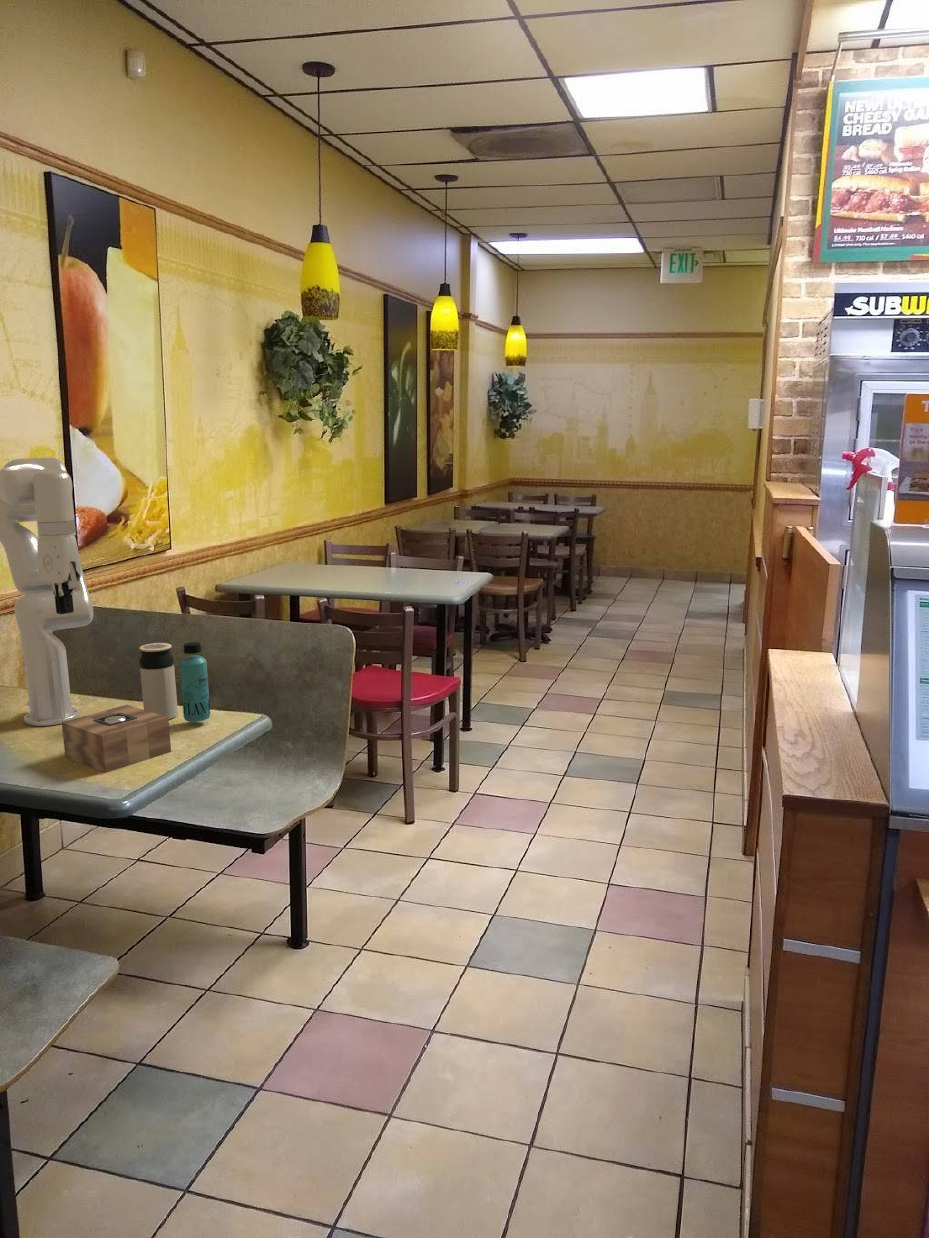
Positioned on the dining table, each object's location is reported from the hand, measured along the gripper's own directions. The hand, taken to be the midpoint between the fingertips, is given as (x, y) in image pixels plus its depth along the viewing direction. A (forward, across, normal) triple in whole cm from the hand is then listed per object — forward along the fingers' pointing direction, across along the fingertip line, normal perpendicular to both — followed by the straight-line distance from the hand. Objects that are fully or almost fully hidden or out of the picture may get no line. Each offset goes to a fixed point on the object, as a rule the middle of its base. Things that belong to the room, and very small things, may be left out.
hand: (65, 612), depth 215 cm
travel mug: (+31, -5, +25) cm, 40 cm away
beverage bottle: (+31, +7, +27) cm, 42 cm away
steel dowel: (+31, +11, +3) cm, 33 cm away
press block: (+31, +11, +3) cm, 33 cm away
